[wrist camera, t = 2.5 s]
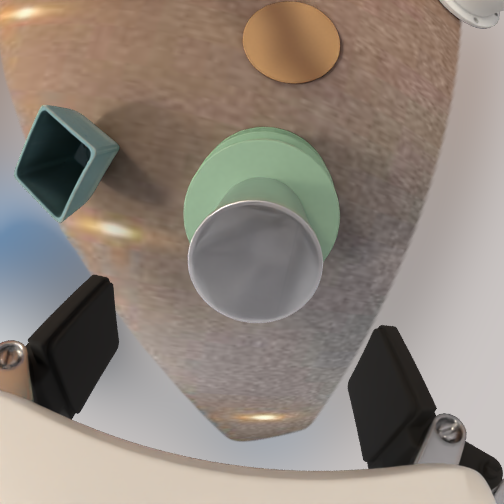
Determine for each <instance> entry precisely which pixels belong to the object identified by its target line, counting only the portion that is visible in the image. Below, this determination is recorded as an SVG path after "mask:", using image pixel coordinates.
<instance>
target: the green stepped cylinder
mask: <svg viewBox="0 0 504 504" xmlns="http://www.w3.org/2000/svg"><path fill="white" fill-rule="evenodd" d="M256 177H265V178H271V179H275V180H277V181H280V182H282V183H284V184H285V185H287V186H288V187H289V188H291V189H292V190H293V191H294V193H295V194H296V195H297V196H298V198H299V200H300V202H301V204H302V206H303V209H304V212H305V214H306V217H307V220H308V222H309V224H310V226H311V227H312V229H313V230H314V232H315V234H316V236H317V239H318V241H319V244H320V246H321V251H322V256H323V261H324V260H325V259H326V257H327V256H328V254H329V253H330V251H331V249H332V247H333V245H334V243H335V240H336V237H337V234H338V229H339V223H340V209H339V202H338V197H337V194H336V191H335V188H334V184H333V181H332V178H331V176H330V173H329V171H328V169H327V168H326V165H325V163H324V162H323V160H322V158H321V156H320V155H319V154H318V153H317V151H316V150H315V149H314V148H313V147H312V146H311V145H310V144H309V143H308V142H306V141H305V140H304V139H302V138H301V137H299V136H297V135H296V134H294V133H291V132H289V131H286V130H283V129H279V128H273V127H255V128H249V129H246V130H242V131H239V132H237V133H235V134H233V135H231V136H229V137H228V138H226V139H225V140H223V141H222V142H221V143H220V144H219V145H218V146H217V147H216V148H215V149H214V150H213V151H212V152H211V153H210V154H209V155H208V157H207V158H206V159H205V160H204V162H203V163H202V165H201V166H200V168H199V170H198V171H197V173H196V174H195V176H194V177H193V179H192V181H191V183H190V185H189V187H188V190H187V194H186V197H185V203H184V225H185V230H186V234H187V237H188V240H189V242H190V243H191V240H192V238H193V235H194V233H195V231H196V230H197V228H198V227H199V225H200V224H201V223H202V222H203V220H204V219H205V218H206V217H207V216H208V215H209V214H210V213H212V212H213V211H214V210H215V208H216V207H217V206H218V204H219V203H220V202H221V200H222V199H223V198H224V196H225V195H226V193H227V192H228V191H229V190H230V189H231V188H232V187H234V186H235V185H236V184H238V183H240V182H242V181H244V180H247V179H250V178H256Z"/></svg>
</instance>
